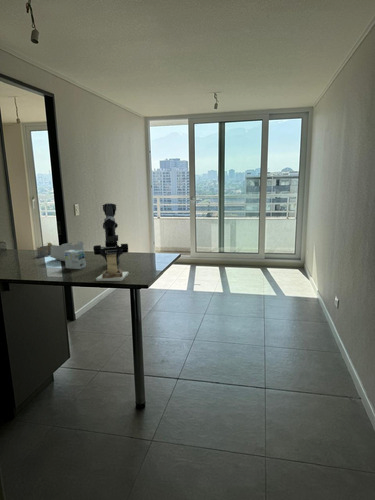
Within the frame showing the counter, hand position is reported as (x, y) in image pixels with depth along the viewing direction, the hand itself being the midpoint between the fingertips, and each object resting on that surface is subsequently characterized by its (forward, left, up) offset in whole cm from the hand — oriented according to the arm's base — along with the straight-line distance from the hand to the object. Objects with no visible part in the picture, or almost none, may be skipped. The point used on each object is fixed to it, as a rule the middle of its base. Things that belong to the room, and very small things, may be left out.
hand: (111, 261), depth 178 cm
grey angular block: (-45, +45, -9) cm, 65 cm away
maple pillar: (0, +1, -7) cm, 7 cm away
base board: (0, +1, -9) cm, 9 cm away
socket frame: (0, +1, -8) cm, 8 cm away
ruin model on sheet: (-70, +58, -10) cm, 92 cm away
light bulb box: (-31, +23, -9) cm, 40 cm away
